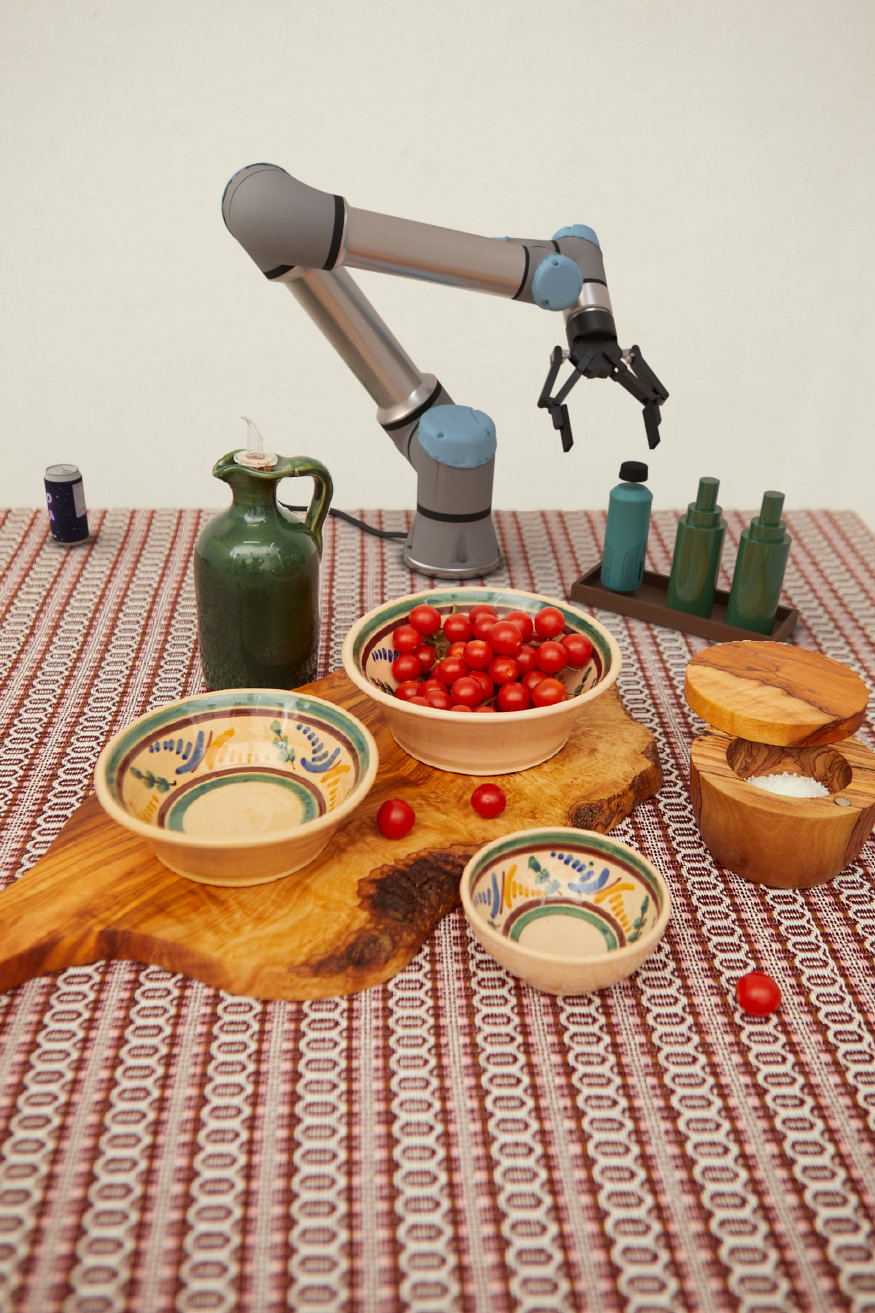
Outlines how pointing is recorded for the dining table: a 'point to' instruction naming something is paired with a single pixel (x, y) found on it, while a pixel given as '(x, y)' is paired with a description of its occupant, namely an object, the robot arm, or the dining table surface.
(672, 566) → the green bottle
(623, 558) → the beverage bottle
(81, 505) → the beverage can
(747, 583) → the green bottle
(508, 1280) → the dining table surface
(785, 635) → the tray
